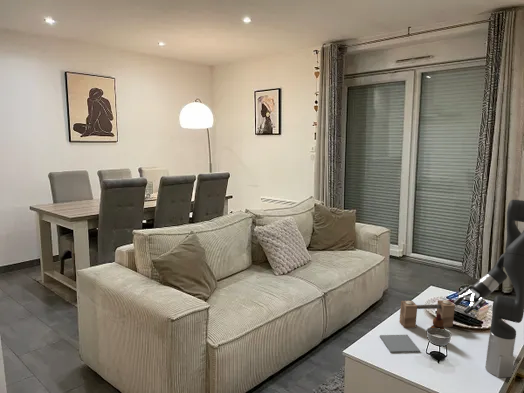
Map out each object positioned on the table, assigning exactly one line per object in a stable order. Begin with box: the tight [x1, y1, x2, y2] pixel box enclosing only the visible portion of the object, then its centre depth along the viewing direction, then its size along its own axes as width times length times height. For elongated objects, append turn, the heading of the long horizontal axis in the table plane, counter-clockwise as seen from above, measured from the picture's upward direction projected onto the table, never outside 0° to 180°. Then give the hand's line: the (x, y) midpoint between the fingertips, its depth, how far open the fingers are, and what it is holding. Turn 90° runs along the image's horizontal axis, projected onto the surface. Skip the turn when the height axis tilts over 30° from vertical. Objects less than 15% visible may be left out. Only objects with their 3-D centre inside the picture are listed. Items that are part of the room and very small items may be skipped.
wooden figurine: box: [429, 311, 446, 331], centre depth 189 cm, size 7×6×15 cm
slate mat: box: [379, 334, 421, 354], centre depth 186 cm, size 14×14×1 cm
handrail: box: [398, 299, 456, 329], centre depth 204 cm, size 6×26×13 cm, turn 94°
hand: (459, 308), depth 188 cm, fingers open, 8 cm apart
